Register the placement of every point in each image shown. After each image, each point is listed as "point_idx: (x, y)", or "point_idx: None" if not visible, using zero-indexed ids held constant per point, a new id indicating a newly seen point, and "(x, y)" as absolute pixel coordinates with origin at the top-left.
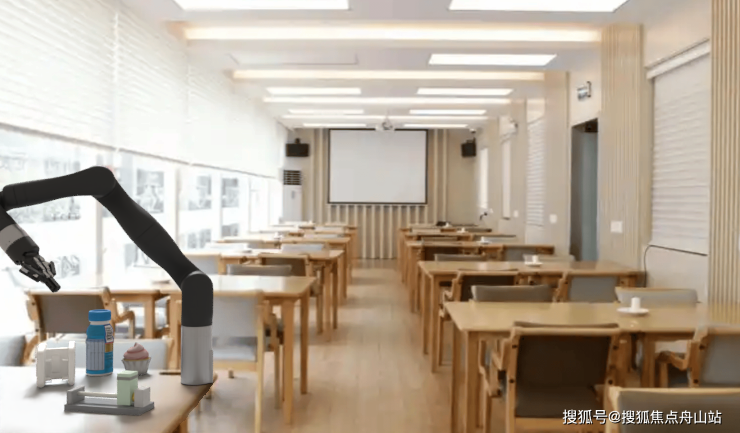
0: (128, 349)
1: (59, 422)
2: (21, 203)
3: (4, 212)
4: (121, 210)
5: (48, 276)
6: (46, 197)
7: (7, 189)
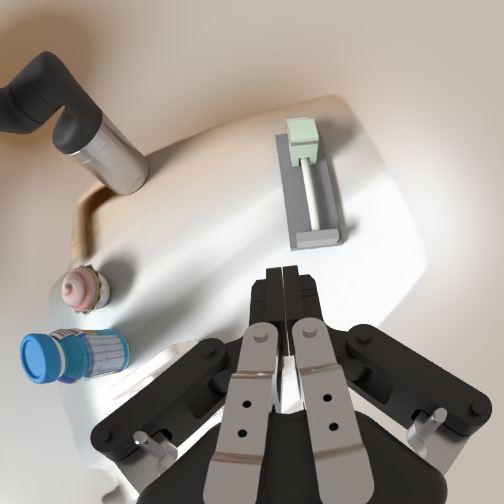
0: (78, 297)
1: (389, 208)
2: None
3: None
4: None
5: (310, 324)
6: None
7: None
